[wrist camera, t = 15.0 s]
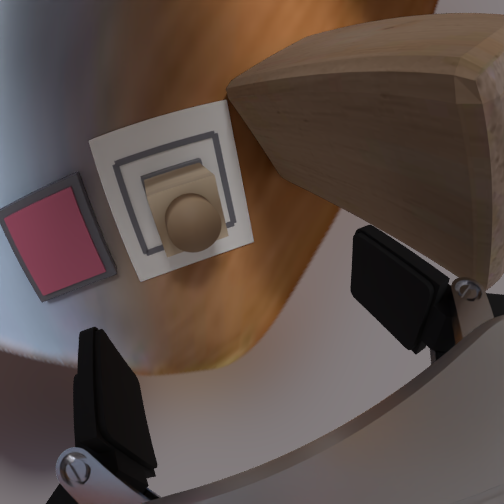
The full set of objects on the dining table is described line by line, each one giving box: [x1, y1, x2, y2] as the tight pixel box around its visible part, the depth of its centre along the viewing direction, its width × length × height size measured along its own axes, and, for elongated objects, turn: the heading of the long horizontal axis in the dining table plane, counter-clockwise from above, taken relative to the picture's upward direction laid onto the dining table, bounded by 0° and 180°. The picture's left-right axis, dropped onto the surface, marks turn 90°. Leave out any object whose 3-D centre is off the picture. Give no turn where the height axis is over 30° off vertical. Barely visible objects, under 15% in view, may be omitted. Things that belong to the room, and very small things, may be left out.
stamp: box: [140, 158, 229, 257], centre depth 20 cm, size 5×5×7 cm
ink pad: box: [0, 171, 117, 302], centre depth 20 cm, size 9×8×1 cm
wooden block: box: [226, 13, 504, 291], centre depth 15 cm, size 10×10×20 cm
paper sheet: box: [89, 100, 254, 282], centre depth 23 cm, size 13×11×1 cm
